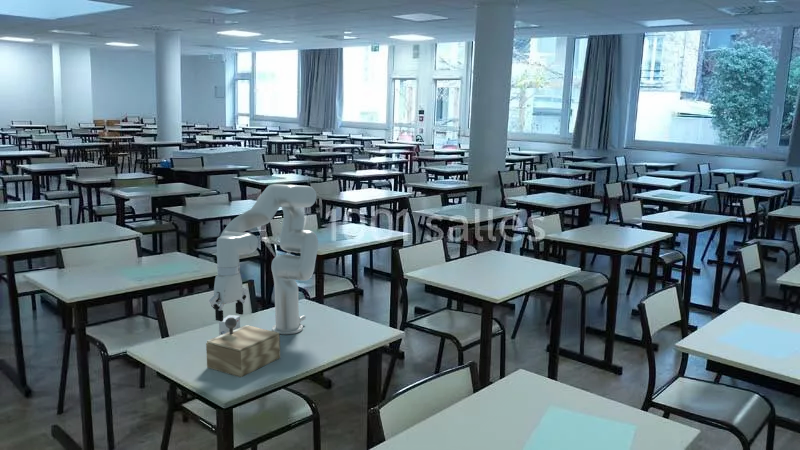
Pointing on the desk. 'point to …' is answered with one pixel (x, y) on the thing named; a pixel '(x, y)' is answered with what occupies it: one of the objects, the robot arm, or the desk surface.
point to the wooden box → (243, 357)
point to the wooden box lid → (241, 336)
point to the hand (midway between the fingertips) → (229, 317)
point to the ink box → (222, 326)
